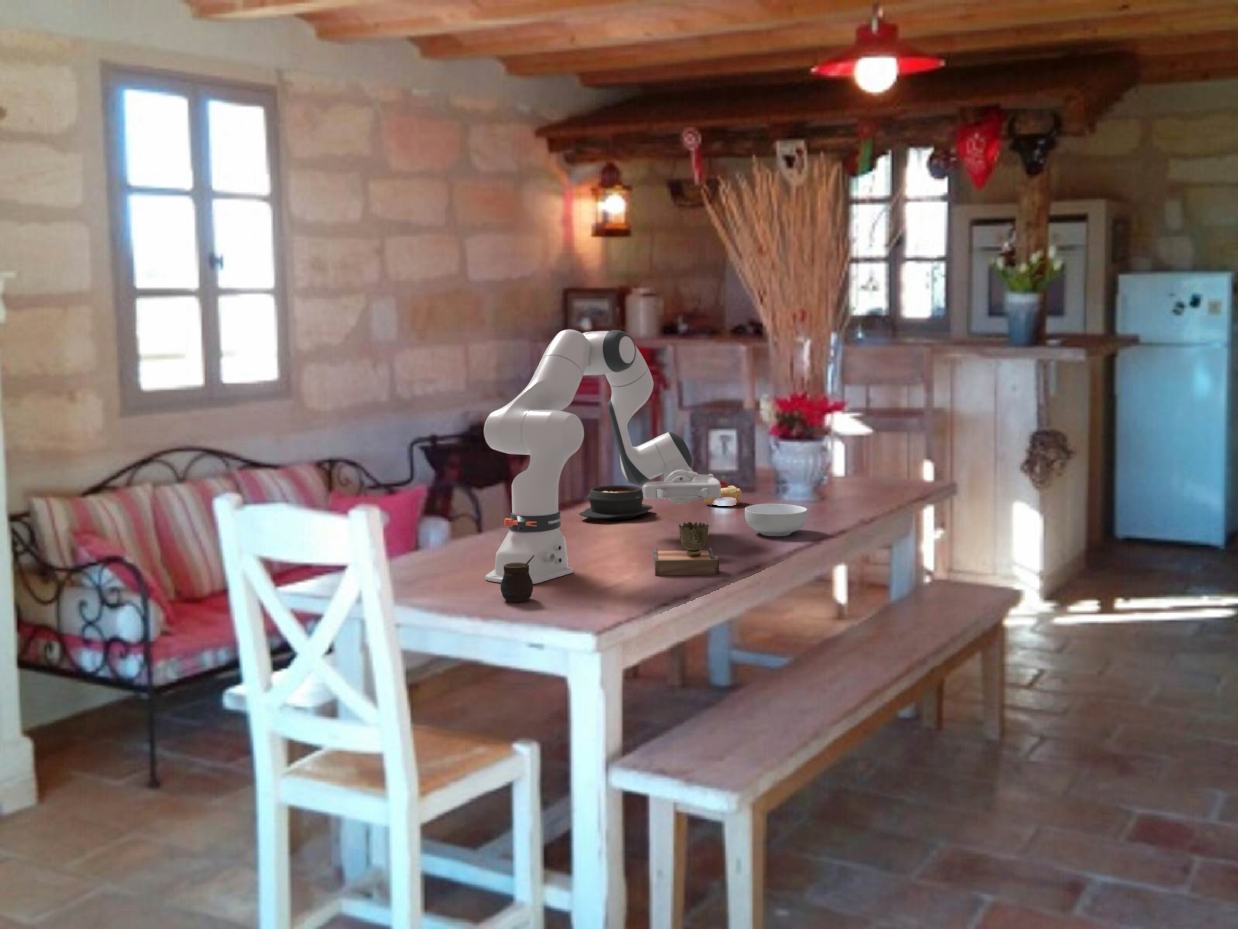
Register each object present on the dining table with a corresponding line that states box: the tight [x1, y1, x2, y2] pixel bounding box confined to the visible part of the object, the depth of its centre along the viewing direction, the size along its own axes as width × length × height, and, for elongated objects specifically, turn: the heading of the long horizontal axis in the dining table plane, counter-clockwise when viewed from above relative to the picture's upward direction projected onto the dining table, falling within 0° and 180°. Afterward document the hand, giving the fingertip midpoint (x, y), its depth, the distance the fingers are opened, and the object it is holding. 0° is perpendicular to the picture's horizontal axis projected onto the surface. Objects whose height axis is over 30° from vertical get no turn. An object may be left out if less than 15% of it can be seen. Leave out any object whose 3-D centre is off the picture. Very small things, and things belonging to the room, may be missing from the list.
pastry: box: [703, 474, 743, 507], centre depth 429 cm, size 12×12×9 cm
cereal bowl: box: [744, 503, 808, 537], centre depth 381 cm, size 17×17×7 cm
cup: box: [678, 521, 710, 557], centre depth 352 cm, size 8×7×8 cm
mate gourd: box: [499, 555, 534, 603], centre depth 308 cm, size 7×8×10 cm
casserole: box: [578, 484, 653, 521], centre depth 411 cm, size 25×19×8 cm
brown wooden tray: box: [652, 547, 720, 576], centre depth 347 cm, size 32×15×4 cm, turn 179°
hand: (682, 494), depth 359 cm, fingers open, 8 cm apart
